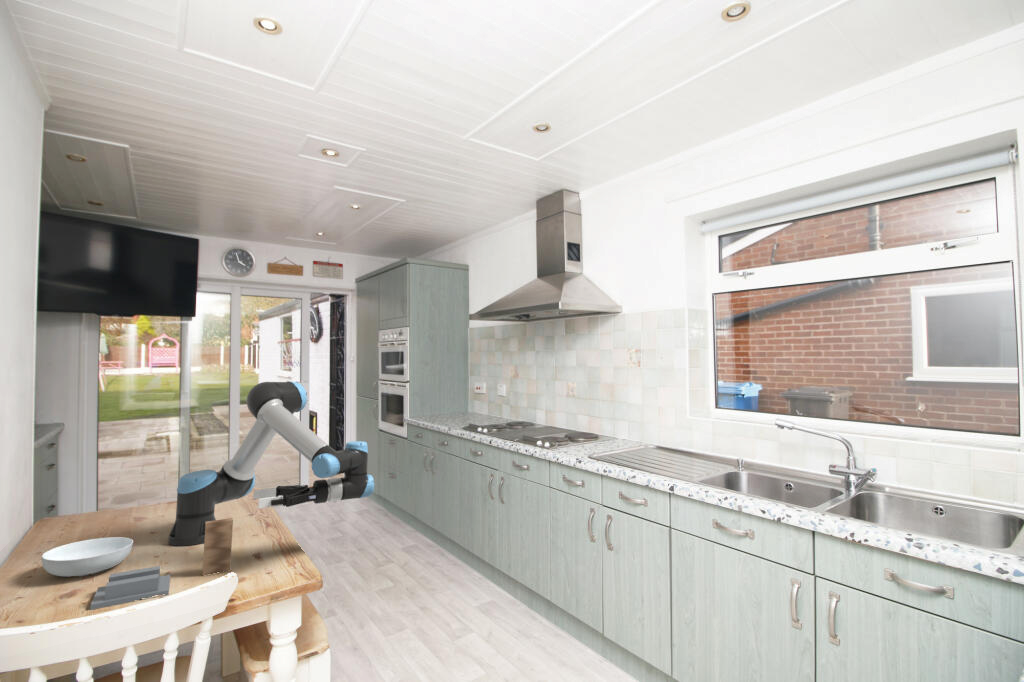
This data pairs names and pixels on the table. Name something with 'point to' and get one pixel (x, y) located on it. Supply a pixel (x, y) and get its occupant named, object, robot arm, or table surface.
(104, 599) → the slotted rack
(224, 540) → the walnut card
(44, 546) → the table surface
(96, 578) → the table surface
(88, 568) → the serving bowl
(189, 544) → the robot arm
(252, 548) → the table surface
